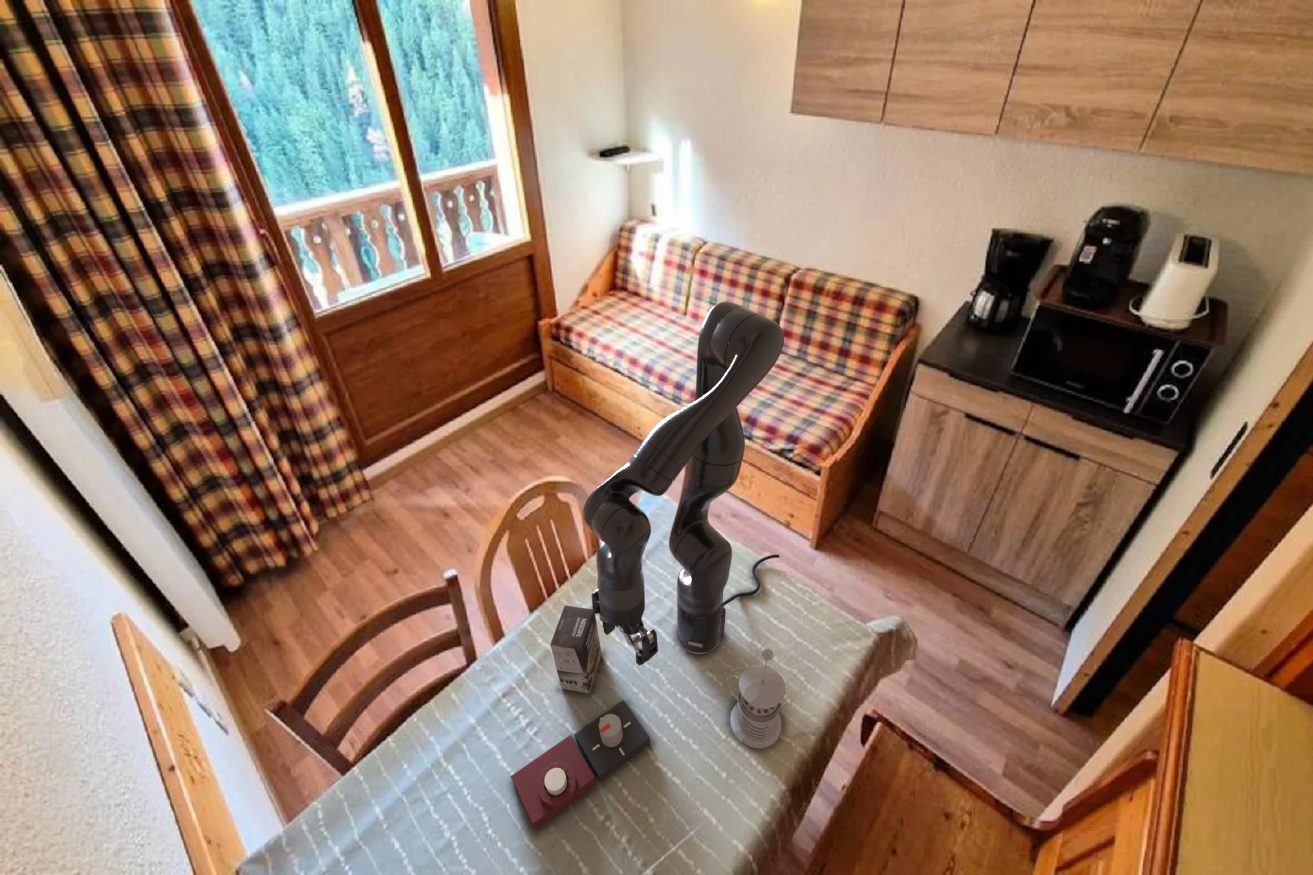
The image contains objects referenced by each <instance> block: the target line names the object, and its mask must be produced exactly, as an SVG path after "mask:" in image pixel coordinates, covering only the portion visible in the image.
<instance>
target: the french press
mask: <svg viewBox="0 0 1313 875" xmlns="http://www.w3.org/2000/svg"><path fill="white" fill-rule="evenodd" d="M761 657H762V659H763V660H764V661H765V662H764V663H765V664H760V663H759V664H753V665H749V666H748V667H746V669H742V668H735V669H733V671H732V674H731V675H729V676H728V677H727V679H726V683H727V686H728V689H729V691H730V692H731V694H732V695H733V696H734V698H736V699H737V703H735V704H734V706H733V708H732V710H731V711H730V719H729V720H730V726H731V729H732V732H733V734H734V735H735V737H736V738H737V739H738V740H739V742H741V743H742V744H744V745H746V746H747V747H749V748H755V749H764V748H768V747H770V746H772V745H773V744H774V743H775V742H776V741H777V740H779V738H780V735H781V732H782V718H781V715H780V711H781V704H782V701H783V699H784V697H785V696H786V683H785V681H784V679H783V677H782V675H781V674H780V673H779V672H778V671H777V670H776V669H775V668H773V667H771V666H769V665H767V664H768V662H769V661H772V660H773V658H774V652H773V650H772V649H770V648H765V649H763V650H762V652H761ZM737 671H740V672H742V673H741V675H740V676H737V675H735V673H736V672H737ZM730 678H732V679H733V682H734V684H735V685H736V687H737V688H738V689H739V693H738V695H736V693H735V692H734V691H733V689H732V688H731V686H730V682H729V681H730V680H729V679H730ZM736 679H738V680H739V681H738V682H736ZM738 683H739V684H738Z"/></svg>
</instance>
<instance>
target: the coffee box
mask: <svg viewBox="0 0 1313 875" xmlns="http://www.w3.org/2000/svg"><path fill="white" fill-rule="evenodd" d="M550 648H551V653H552V657H553V661H554V665H555V669H556V674H557V677H558V681H559V685H560V688H561V689H565V690H568V691H574V692H580V693H584V694H590V693H591V690H592V687H593V685H594V684H593V683H594V680H595V677H596V674H597V670H598V667H599V664H600V661H601V657H602V648H601V642H600V636H599V630H598V624H597V618H596V614H595V613H594V612H593V608H587V607H580V606H573V605H566V604H565V605H564V606H563V609H562V611H561V614H560V616H559V619H558V622H557V625H556V628H555V631H554V633H553V636H552V638H551V642H550Z"/></svg>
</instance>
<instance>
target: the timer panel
mask: <svg viewBox="0 0 1313 875" xmlns="http://www.w3.org/2000/svg"><path fill="white" fill-rule="evenodd" d="M608 714H614V715H616V716H618V717H619V719H620V721H621V727H622V734H623V737H622V740H621V742H620V743H619V744H618V745H617V746H615V747H608V746H606V745H604V744H603V742H602V740H601V735H600V730H599V723H600V720H601V719H602V718H603V717H604V716H605V715H608ZM573 735H574V738H575V741H576V742H577V745H578V746H579V748H580V751H581V752H582V753H583V756H584V757H585V759H586V760H587V762H588V763H589V764H588V765H590V767H591V769H592V770H593V773H594V774H595V776H596V777H597V779H598V781H599V782H602V781H604V780H605V779H606V778H608V777H609V776H610V775H611V774H613V773H614V772H615V771H617V770H618V769H619V768H621V767H622V766H623V765H625V764H626V763H628V762H629V761H630V760H631V759H633V758H634V757H635V756H636V755H638V754H639V753H640V752H642V751H644V750H645V749H646V748H648V747H649V746H650V745H651V738H650V736H649V735H648V733H647V732H646V730H645V729H644V727H643V726H642V724H641V723H640V722H639V720H638V718H637V717H636V715H635V714H634V712H633V711H632V710H631V708H630V707H629V705H628V704H627V702H626V701H625V700H624V699H623V700H621V701H619V702H618V703H617V704H615V705H614V706H613V707H611V708H610V709H608V710H606V711H605V712H604V713H602V714H601V715H599V716H598V717H597V718H595V719H594V720H592V721H591V722H589V723H588V724H587V725H585V726H584V727H582V728H580V729H579V730H578V731H576V732H575V733H574V734H573Z"/></svg>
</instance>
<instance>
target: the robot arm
mask: <svg viewBox="0 0 1313 875" xmlns="http://www.w3.org/2000/svg"><path fill="white" fill-rule="evenodd" d="M784 344H785V334H784V330H783V328H782V327H781V325H780V324H779V323H777V322H776V321H774V320H773V319H770V318H769V317H766V316H764V315H763V314H761V313H758V312H755V311H754V310H752V309H749V308H747V307H745V306H743V305H741V304H738V303H735V302H732V301H727V300H725V301H721V302H718V303H716V304H715V305H714V306H713V307H712V308H711V309H710V310H709V311H708V312H707V313H706V315H705V317H704V319H703V321H702V324H701V327H700V330H699V336H698V341H697V350H696V351H697V352H696V353H697V354H696V374H695V375H696V377H695V378H696V379H695V393H694V394H695V395H694V397H695V398H694V401H692V402H690V403H688V404H687V405H685V406H683V407H681V408H679V409H677V410H675V411H674V412H672V413H670V414H668V415H667V416H665V417H664V418H663V419H661V420H660V421H658V422H657V423H656V425H654V426H653V427H652V428H651V429H650V430H649V432H648V433H647V435H646V436H645V438H644V439H643V440H642V441H641V443H640V444H639V445H638V447H637V448H636V450H635V451H634V453H633V454H632V456H631V457H630V458H629V459H628V461H627V462H626V463H624V465H622V466H621V467H620V468H619V469H618V470H617V471H615V472H614V473H613V474H611V476H610V477H608V478H607V479H606V480H605V481H603V482H602V483H601V484H600V485H598V486H597V487H596V488H595V489H593V491H592V492H591V493H590V494H589V496H588V497H587V499H586V501H585V502H584V506H583V509H582V519H583V522H584V524H585V525H586V527H587V528H589V529H590V531H592V533H593V534H594V535H596V537H597V538H599V539H600V540H601V541H600V544H599V545H598V547H597V550H596V555H595V557H596V558H595V560H596V569H597V585H596V586H597V589H595V590H594V591H593V592H591V606H592V608H591V609H593V612H594V613H595V615H597V614H598V615H599V617H598V618H599V620H600V622H602V628H603V633H604V635H606V636H608V635H609V634H611V633H612V632H613V631H615V629H616V628H618V631H619V632H620V633H622V635H623V637H624V638H625V641H626V642H627V644H628V645H629V646H631V647H632V648H633V649H634V651H635V663H636V664H637V665H638V666H639V667H640V666H643V665H644V664H646V662H648V661H650V660H651V659H652V658H653V657H654V656H655V655H656V654H658V652H659V645H658V634H657V631H656V630H655V629H654V628H651V629H650V630H648V629H647V628H645V625H644V622H643V619H642V618H643V616H644V612H645V609H646V597H645V596H646V595H645V594H646V593H645V577H644V572H643V556H644V553H645V550H646V547H647V545H648V542H649V540H650V537H651V535H652V527H651V522H650V519H649V517H648V515H647V514H646V513H645V512H644V511H643V510H642V509H641V508H640V507H639V506H638V505H637V504H636V503H634V502H633V501H632V500H631V498H632V496H634V495H635V494H637V493H638V492H640V491H643V492H645V493H647V494H648V495H651V496H654V497H661V496H663V495H664V494H666V493H667V491H668V490H669V489H670V487H671V486H672V484H673V483H674V482H675V480H676V479H677V478H678V477H679V474H680V473H681V472H682V471H683V469H684V473H683V480H682V483H681V484H682V485H681V491H680V494H679V501H678V505H677V508H676V511H675V515H674V518H673V522H672V526H671V529H670V533H669V538H668V549H669V551H670V553H671V555H672V557H673V559H675V560H676V562H677V563H678V564H679V565H680V566H681V567H682V569H680V571H679V573H678V574H677V579H676V617H677V618H676V619H677V620H676V622H677V624H676V627H677V629H676V639H677V642H678V644H679V646H680V648H682V649H683V651H685V652H686V653H688V654H690V655H693V656H697V657H698V656H700V657H701V656H706V655H709V654H711V653H712V652H713V651H715V650H716V649H717V648H718V647H719V644H720V642H721V639H723V638H724V637H725V626H726V615H727V614H726V612H727V610H726V608H725V606H726V605H728V604H729V603H731V602H732V601H734V600H735V599H737V598H740V597H748V596H752V595H756V594H757V593H758V592H759V591H760V588H761V582H760V579H759V577H758V575H757V574H756V569H757V567H758V566H759V565H760V564H762V563H763V562H766V561H767V560H771V559H779V558H780V557H781V555H779V554H769V555H767V556H764V557H762V558H760V559H758V560H756V562H755V563H754V564H753V566H752V567H751V574H752V577H753V579H754V580H755V583H756V587H755V589H753V590H751V591H750V590H749V591H746V592H745V591H744V592H739V593H736V594H733V595H732V596H730V597H728V598H727V599H726V600H724V590H725V588H726V585H727V583H728V580H729V577H730V572H731V565H732V559H733V549H732V548H733V547H732V545H731V543H730V542H729V541H728V540H727V539H726V538H725V537H724V536H723V535H722V534H721V533H720V532H719V531H718V530H717V529H716V528H715V527H713V525H711V524H710V521H709V510H710V507H711V503H712V502H713V501H715V500H716V499H718V498H719V497H720V496H722V495H724V494H726V492H727V491H729V490H730V489H731V488H732V487H733V486H734V485H735V483H736V482H737V480H738V479H739V476H740V473H741V468H742V464H743V459H744V455H745V448H746V438H745V432H744V427H743V425H742V424H743V423H742V421H741V417H740V414H739V410H738V406H739V405H741V403H742V402H743V401H744V400H745V399H746V398H747V397H748V396H749V395H750V394H751V393H752V391H754V389H755V388H757V386H758V385H759V384H760V383H761V382H762V381H763V380H764V379H765V378H766V377H767V375H768V374H769V373H770V371H772V369H773V367H774V366H775V365H776V363H777V362H778V360H779V358H780V356H781V354H782V352H783V348H784ZM632 635H633V637H632ZM639 643H641V646H639Z"/></svg>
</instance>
